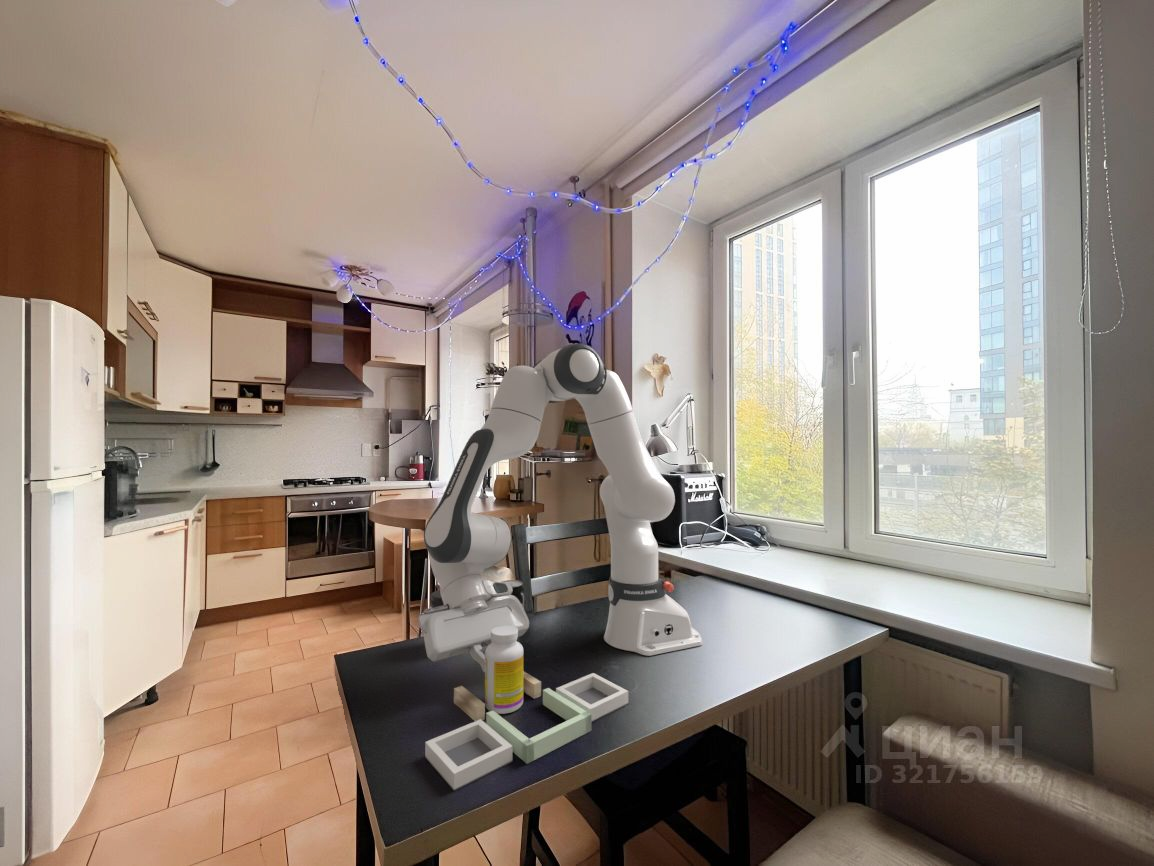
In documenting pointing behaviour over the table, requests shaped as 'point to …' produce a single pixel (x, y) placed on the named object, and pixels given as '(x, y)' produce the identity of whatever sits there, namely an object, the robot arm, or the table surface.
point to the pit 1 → (468, 753)
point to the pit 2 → (594, 695)
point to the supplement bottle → (504, 671)
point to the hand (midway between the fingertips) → (492, 668)
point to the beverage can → (517, 590)
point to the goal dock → (551, 738)
